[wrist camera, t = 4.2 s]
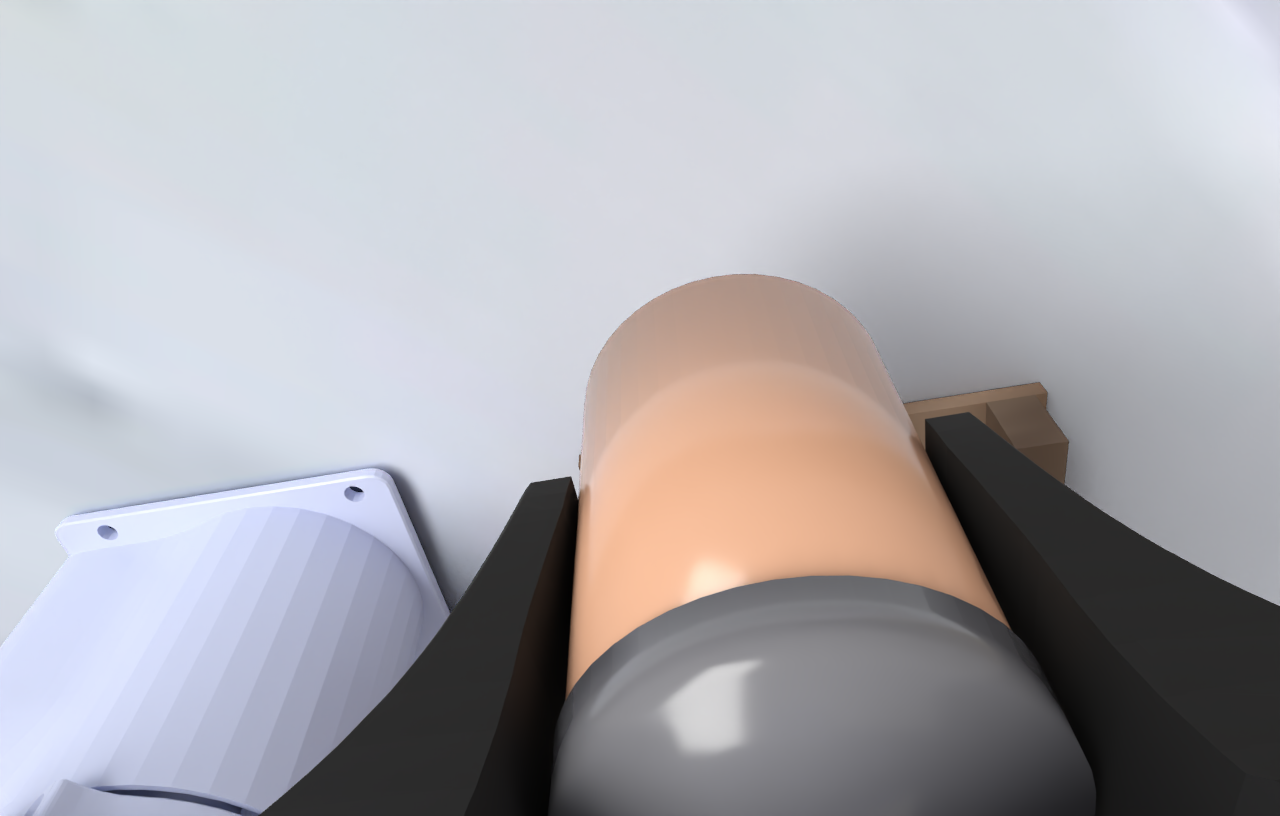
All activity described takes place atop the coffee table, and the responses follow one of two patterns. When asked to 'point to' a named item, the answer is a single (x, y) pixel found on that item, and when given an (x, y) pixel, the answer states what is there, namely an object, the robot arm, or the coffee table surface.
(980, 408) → the pusher lane
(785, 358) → the jar
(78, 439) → the coffee table surface
